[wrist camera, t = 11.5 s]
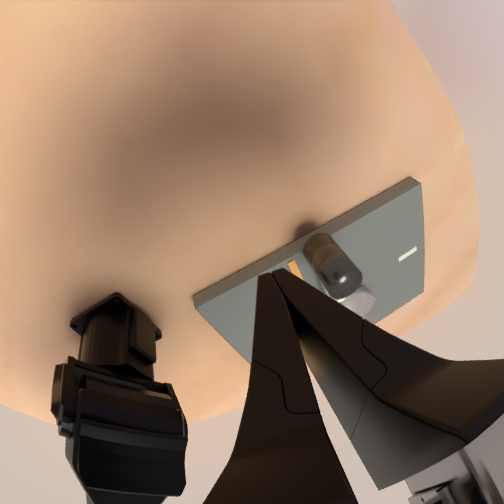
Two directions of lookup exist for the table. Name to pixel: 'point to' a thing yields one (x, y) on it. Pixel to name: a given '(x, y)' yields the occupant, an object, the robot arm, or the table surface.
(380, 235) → the base plate
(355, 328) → the robot arm
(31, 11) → the table surface
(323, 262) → the silver handled piece
